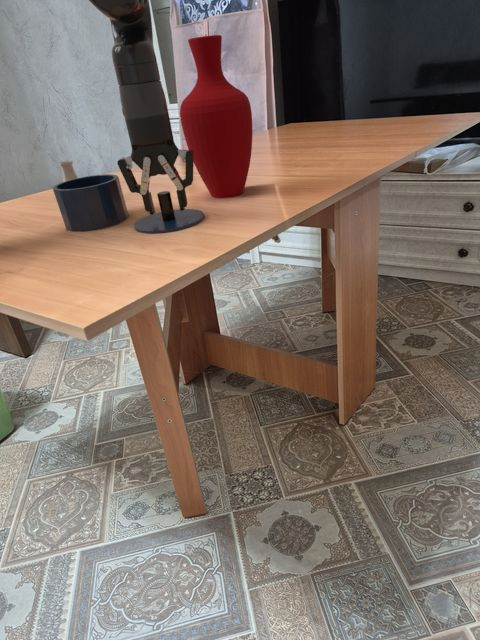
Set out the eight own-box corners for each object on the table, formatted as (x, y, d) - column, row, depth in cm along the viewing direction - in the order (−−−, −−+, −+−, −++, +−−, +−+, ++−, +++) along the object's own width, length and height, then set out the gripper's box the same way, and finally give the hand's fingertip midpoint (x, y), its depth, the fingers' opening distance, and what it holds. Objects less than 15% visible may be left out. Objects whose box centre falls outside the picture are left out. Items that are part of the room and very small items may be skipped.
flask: (91, 199, 118) (79, 157, 113) (95, 204, 112) (82, 160, 107) (62, 205, 116) (48, 162, 110) (64, 211, 110) (50, 166, 105)
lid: (128, 240, 85) (119, 206, 82) (141, 219, 96) (134, 188, 93) (202, 231, 85) (196, 197, 81) (207, 211, 96) (201, 180, 93)
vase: (209, 189, 113) (185, 41, 97) (268, 186, 108) (252, 31, 93) (184, 207, 101) (152, 42, 85) (249, 204, 97) (227, 30, 81)
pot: (58, 237, 91) (43, 193, 87) (77, 219, 102) (64, 179, 98) (121, 229, 91) (109, 185, 87) (133, 212, 102) (123, 171, 97)
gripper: (189, 106, 83) (205, 202, 92) (110, 116, 84) (134, 210, 92) (185, 109, 77) (203, 212, 86) (99, 120, 77) (126, 221, 86)
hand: (167, 211), depth 89 cm, fingers open, 5 cm apart
